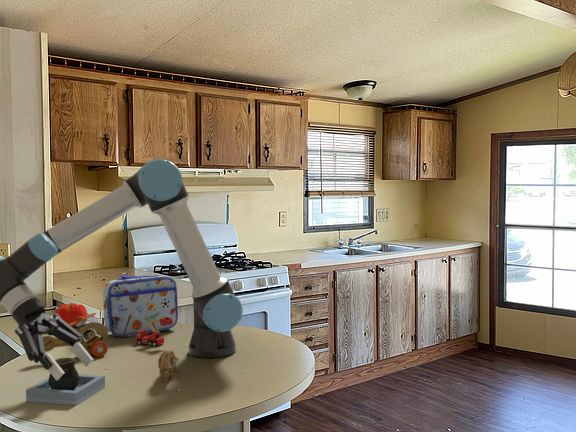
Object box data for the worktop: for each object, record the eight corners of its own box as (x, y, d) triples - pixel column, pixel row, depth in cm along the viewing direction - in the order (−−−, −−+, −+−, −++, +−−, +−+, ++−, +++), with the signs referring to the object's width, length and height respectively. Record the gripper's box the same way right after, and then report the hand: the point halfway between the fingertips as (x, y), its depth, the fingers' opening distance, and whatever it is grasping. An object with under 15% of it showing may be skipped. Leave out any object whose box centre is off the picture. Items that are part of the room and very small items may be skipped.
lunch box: (106, 341, 195) (104, 279, 194) (99, 335, 204) (97, 275, 203) (180, 330, 209) (179, 272, 209) (171, 324, 218) (169, 269, 217)
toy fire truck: (140, 341, 194) (139, 314, 194) (173, 345, 189) (173, 316, 189) (134, 344, 191) (133, 316, 191) (167, 347, 186) (167, 319, 185)
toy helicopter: (111, 355, 178) (110, 312, 177) (41, 367, 167) (39, 321, 166) (105, 349, 184) (103, 308, 184) (37, 360, 174) (35, 316, 173)
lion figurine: (179, 384, 150) (178, 351, 149) (159, 386, 148) (158, 353, 148) (176, 368, 164) (175, 337, 163) (157, 369, 162) (157, 339, 162)
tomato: (49, 325, 219) (48, 304, 219) (80, 320, 228) (79, 300, 228) (61, 331, 210) (60, 309, 210) (93, 325, 219) (92, 304, 218)
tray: (105, 387, 148) (104, 375, 148) (76, 405, 135) (76, 393, 135) (58, 383, 151) (58, 373, 151) (26, 401, 138) (25, 389, 138)
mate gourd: (85, 387, 145) (84, 349, 144) (65, 398, 138) (64, 358, 137) (62, 385, 147) (61, 347, 147) (41, 395, 140) (40, 356, 139)
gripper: (47, 307, 158) (95, 365, 154) (-20, 325, 136) (34, 394, 132) (62, 289, 156) (111, 348, 152) (-4, 305, 134) (52, 374, 130)
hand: (75, 369), depth 142 cm, fingers open, 10 cm apart
